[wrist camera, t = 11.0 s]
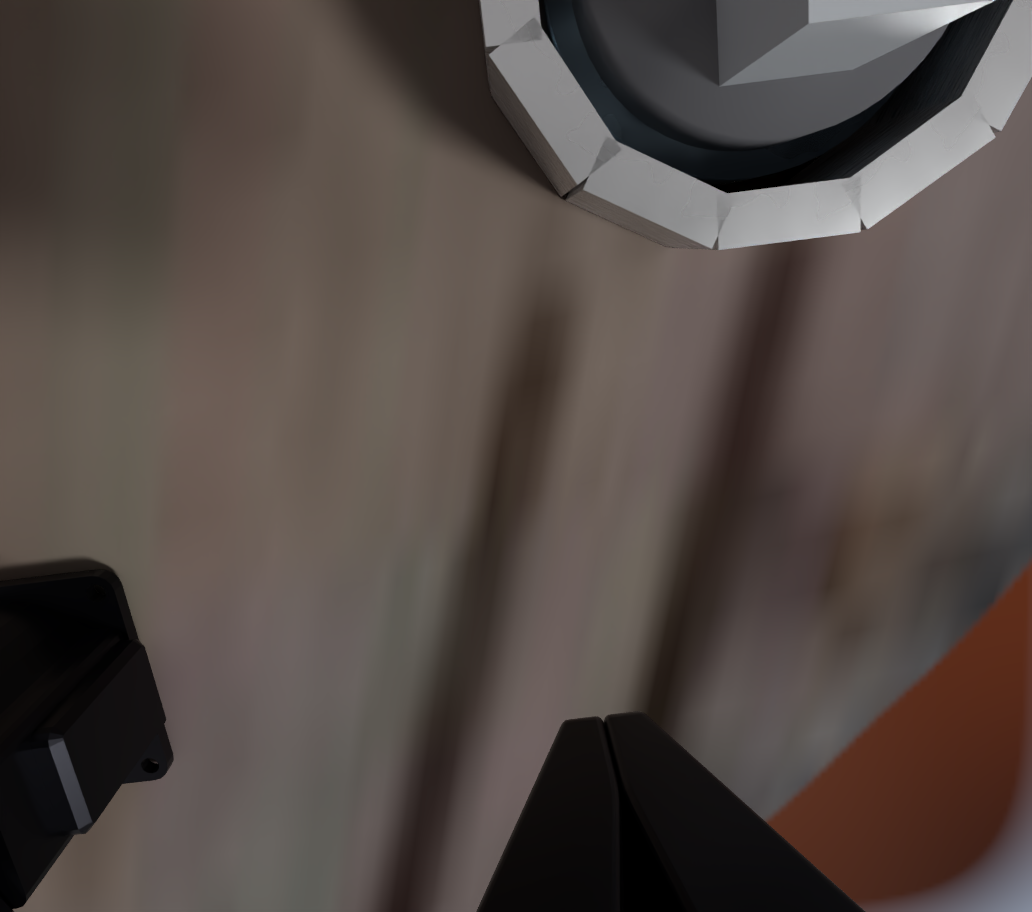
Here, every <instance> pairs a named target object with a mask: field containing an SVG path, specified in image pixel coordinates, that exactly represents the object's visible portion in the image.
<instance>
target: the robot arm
mask: <svg viewBox="0 0 1032 912" xmlns="http://www.w3.org/2000/svg"><path fill="white" fill-rule="evenodd" d="M94 584H95V585H99V586H101V587H103V589H104V590H105V592H106V595H103V594H100V593H98V592H97V591H96V589H95V588H94ZM165 721H166V717H165V713H164V710H163V707H162V703H161V700H160V697H159V693H158V690H157V686H156V683H155V680H154V676H153V673H152V670H151V666H150V663H149V660H148V656H147V653H146V650H145V647H144V645H143V644H142V643H141V642H140V641H139V639H138V636H137V632H136V629H135V626H134V622H133V619H132V616H131V613H130V609H129V606H128V603H127V599H126V596H125V593H124V589H123V586H122V583H121V581H120V580H119V578H118V577H117V576H116V575H115V574H114V573H112V572H110V571H107V570H91V571H82V572H74V573H66V574H57V575H49V576H40V577H32V578H24V579H15V580H7V581H0V912H14V911H13V910H12V909H16V908H19V907H22V906H23V905H24V904H25V903H26V901H27V900H28V899H29V897H30V896H31V895H32V893H33V892H34V890H35V889H36V888H37V886H38V885H39V883H40V882H41V881H42V879H43V878H44V876H45V875H46V874H47V872H48V871H49V869H50V868H51V867H52V865H53V864H54V863H55V861H56V860H57V858H58V857H59V856H60V854H61V853H62V851H63V850H64V849H65V847H66V846H67V844H68V843H69V842H70V840H71V839H72V837H73V836H74V835H77V834H86V833H87V832H88V831H89V830H90V829H91V827H92V826H93V825H94V823H95V822H96V821H97V819H98V818H99V816H100V815H101V813H102V812H103V811H104V809H105V808H106V806H107V805H108V803H109V802H110V801H111V799H112V798H113V796H114V795H115V793H116V792H117V791H118V789H119V788H120V786H121V785H122V784H125V783H134V782H142V781H151V780H157V779H160V778H162V777H163V776H164V775H165V774H166V773H167V771H168V769H169V768H170V766H171V765H172V762H173V760H174V759H173V752H172V749H171V745H170V742H169V739H168V735H167V732H166V729H165V725H164V723H165ZM148 758H152V759H154V760H156V761H157V762H158V764H157V763H153V762H151V761H150V760H149V759H148ZM476 912H865V911H864V910H863V909H862V908H861V907H859V906H858V905H857V904H856V903H855V902H854V901H853V900H852V899H851V898H850V897H848V896H847V895H846V894H845V893H844V892H843V891H842V890H841V889H839V888H838V887H837V886H836V885H835V884H834V883H833V882H832V881H831V880H829V879H828V878H827V877H826V876H825V875H824V874H823V873H822V872H821V871H820V870H818V869H817V868H816V867H815V866H814V865H813V864H812V863H811V862H810V861H808V860H807V859H806V858H805V857H804V856H803V855H802V854H801V853H799V852H798V851H797V850H796V849H795V848H794V847H793V846H792V845H791V844H790V843H788V842H787V841H786V840H785V839H784V838H783V837H782V836H781V835H779V834H778V833H777V832H776V831H775V830H774V829H773V828H772V827H771V826H769V825H768V824H767V823H766V822H765V821H764V820H763V819H762V818H761V817H759V816H758V815H757V814H756V813H755V812H754V811H753V810H752V809H751V808H749V807H748V806H747V805H746V804H745V803H744V802H743V801H742V800H741V799H739V798H738V797H737V796H736V795H735V794H734V793H733V792H732V791H731V790H729V789H728V788H727V787H726V786H725V785H724V784H723V783H722V782H721V781H719V780H718V779H717V778H716V777H715V776H714V775H713V774H712V773H711V772H709V771H708V770H707V769H706V768H705V767H704V766H703V765H702V764H701V763H699V762H698V761H697V760H696V759H695V758H694V757H693V756H692V755H691V754H689V753H688V752H687V751H686V750H685V749H684V748H683V747H682V746H681V745H679V744H678V743H677V742H676V741H675V740H674V739H673V738H672V737H671V736H669V735H668V734H667V733H666V732H665V731H664V730H663V729H662V728H661V727H659V726H658V725H657V724H656V723H655V722H654V721H653V720H652V719H651V718H649V717H648V716H647V715H646V714H645V713H643V712H640V711H635V712H627V713H619V714H611V715H608V716H606V717H605V719H604V723H603V721H602V719H601V718H599V717H596V716H595V717H586V718H578V719H570V720H566V721H564V722H563V723H562V725H561V727H560V729H559V731H558V733H557V736H556V738H555V740H554V742H553V744H552V747H551V749H550V751H549V753H548V755H547V758H546V760H545V762H544V764H543V766H542V769H541V771H540V773H539V775H538V777H537V780H536V782H535V784H534V786H533V788H532V791H531V793H530V795H529V797H528V799H527V802H526V804H525V806H524V808H523V810H522V813H521V815H520V817H519V819H518V821H517V823H516V826H515V828H514V830H513V832H512V834H511V837H510V839H509V841H508V843H507V845H506V848H505V850H504V852H503V854H502V856H501V859H500V861H499V863H498V865H497V867H496V870H495V872H494V874H493V876H492V878H491V881H490V883H489V885H488V887H487V889H486V892H485V894H484V896H483V898H482V900H481V903H480V905H479V907H478V909H477V911H476Z"/></svg>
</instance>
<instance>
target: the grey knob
mask: <svg viewBox="0 0 1032 912" xmlns="http://www.w3.org/2000/svg"><path fill="white" fill-rule="evenodd" d="M571 1H572V8H573V12H574V15H575V19H576V23H577V27H578V30H579V34H580V36H581V39H582V41H583V44H584V46H585V49H586V51H587V54H588V56H589V58H590V60H591V62H592V63H593V65H594V67H595V69H596V71H597V72H598V74H599V76H600V78H601V79H602V80H603V82H604V83H605V84H606V86H607V87H608V88H609V90H610V91H611V92H612V94H613V95H614V96H615V97H616V98H617V99H618V101H619V102H620V103H621V104H622V105H623V106H624V107H625V108H626V109H627V110H628V111H629V112H630V113H631V114H633V115H634V116H635V117H637V118H638V119H639V120H640V121H642V122H643V123H644V124H646V125H647V126H648V127H650V128H652V129H654V130H655V131H657V132H659V133H661V134H662V135H664V136H666V137H668V138H670V139H673V140H676V141H678V142H681V143H683V144H686V145H689V146H693V147H698V148H702V149H706V150H714V151H726V152H736V151H752V150H757V149H762V148H767V147H772V146H776V145H779V144H782V143H784V142H787V141H790V140H793V139H796V138H799V137H802V136H805V135H808V134H811V133H814V132H817V131H819V130H822V129H825V128H828V127H831V126H834V125H837V124H839V123H841V122H843V121H845V120H847V119H849V118H851V117H853V116H855V115H857V114H859V113H861V112H862V111H864V110H865V109H867V108H868V107H870V106H871V105H873V104H875V103H876V102H878V101H879V100H881V99H882V98H883V97H885V96H886V95H887V94H888V93H889V92H891V91H892V90H893V89H894V88H895V87H897V86H898V85H899V84H900V83H901V82H903V81H904V80H905V79H906V78H907V77H908V76H909V75H910V73H911V72H912V71H913V70H914V69H915V68H916V67H917V66H918V65H919V64H920V63H921V62H922V61H923V60H924V59H925V57H926V56H927V55H928V53H929V52H930V51H931V49H932V48H933V47H934V45H935V44H936V43H937V41H938V40H939V39H940V37H941V36H942V34H943V33H944V31H945V29H946V28H947V26H948V24H949V23H950V22H952V21H954V20H956V19H958V18H960V17H962V16H964V15H967V14H969V13H971V12H973V11H975V10H977V9H979V8H981V7H983V6H985V5H987V4H989V3H991V2H993V1H995V0H571Z"/></svg>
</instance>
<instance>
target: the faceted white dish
mask: <svg viewBox="0 0 1032 912" xmlns="http://www.w3.org/2000/svg"><path fill="white" fill-rule="evenodd" d="M479 7H480V15H481V24H482V32H483V40H484V49H485V57H486V65H487V74H488V82H489V91H491V93H492V98H493V100H494V101H495V102H496V104H497V105H498V107H499V108H500V110H501V111H502V113H503V114H504V115H505V117H506V118H507V120H508V121H509V123H510V124H511V126H512V127H513V128H514V130H515V131H516V133H517V134H518V136H519V137H520V139H521V140H522V141H523V143H524V144H525V146H526V147H527V149H528V150H529V152H530V153H531V155H532V156H533V157H534V159H535V160H536V162H537V163H538V165H539V166H540V168H541V169H542V170H543V172H544V173H545V175H546V176H547V178H548V179H549V181H550V182H551V183H552V185H553V186H554V188H555V189H556V191H557V192H558V194H559V195H560V196H561V197H562V196H563V195H564V194H566V193H567V192H568V191H569V193H568V195H567V198H566V200H565V201H567V202H569V203H571V204H574V205H576V206H578V207H580V208H582V209H585V210H587V211H589V212H591V213H593V214H595V215H598V216H600V217H602V218H604V219H606V220H609V221H611V222H613V223H615V224H617V225H620V226H622V227H624V228H626V229H628V230H631V231H633V232H635V233H637V234H639V235H641V236H644V237H646V238H648V239H650V240H652V241H655V242H657V243H659V244H661V245H663V246H666V247H672V248H688V249H710V250H722V249H730V248H738V247H746V246H754V245H762V244H770V243H778V242H786V241H794V240H802V239H810V238H818V237H826V236H834V235H842V234H850V233H858V232H860V230H864V229H869V228H870V227H871V226H873V225H874V224H876V223H877V222H878V221H880V220H881V219H882V218H884V217H885V216H887V215H888V214H889V213H891V212H892V211H894V210H895V209H896V208H898V207H899V206H901V205H902V204H903V203H905V202H906V201H908V200H909V199H910V198H912V197H913V196H914V195H916V194H917V193H919V192H920V191H921V190H923V189H924V188H926V187H927V186H928V185H930V184H931V183H933V182H934V181H935V180H937V179H938V178H940V177H941V176H942V175H944V174H945V173H947V172H948V171H949V170H951V169H952V168H953V167H955V166H956V165H958V164H959V163H960V162H962V161H963V160H965V159H966V158H967V157H969V156H970V155H972V154H973V153H974V152H976V151H977V150H979V149H980V148H981V147H983V146H984V145H985V144H987V143H988V142H990V141H991V140H992V139H994V138H995V135H994V132H999V131H1001V130H1002V128H1003V127H1004V125H1005V123H1006V121H1007V120H1008V118H1009V116H1010V114H1011V112H1012V111H1013V109H1014V107H1015V105H1016V104H1017V102H1018V100H1019V98H1020V96H1021V95H1022V93H1023V91H1024V89H1025V87H1026V86H1027V84H1028V82H1029V80H1030V79H1031V77H1032V0H995V1H993V2H991V3H989V4H987V5H985V6H983V7H981V8H979V9H977V10H975V11H973V12H971V13H969V14H967V15H964V16H962V17H960V18H958V19H956V20H954V21H952V22H950V23H949V24H948V26H947V28H946V29H945V31H944V33H943V34H942V36H941V37H940V39H939V40H938V41H937V43H936V44H935V45H934V47H933V48H932V49H931V51H930V52H929V53H928V55H927V56H926V57H925V59H924V60H923V61H922V62H921V63H920V64H919V65H918V66H917V67H916V68H915V69H914V70H913V71H912V72H911V73H910V75H909V76H908V77H907V78H906V79H905V80H904V81H903V82H901V83H900V84H899V85H898V86H897V87H895V88H894V89H893V90H892V91H891V92H889V93H888V94H887V95H886V96H885V97H883V98H882V99H881V100H879V101H878V102H876V103H875V104H873V105H871V106H870V107H868V108H867V109H865V110H864V111H862V112H861V113H859V114H857V115H855V116H853V117H851V118H849V119H847V120H845V121H843V122H841V123H839V124H837V125H834V126H831V127H828V128H825V129H822V130H819V131H817V132H814V133H811V134H808V135H805V136H802V137H799V138H796V139H793V140H790V141H787V142H784V143H782V144H779V145H776V146H772V147H767V148H762V149H757V150H752V151H736V152H726V151H714V150H706V149H702V148H698V147H693V146H689V145H686V144H683V143H681V142H678V141H676V140H673V139H670V138H668V137H666V136H664V135H662V134H661V133H659V132H657V131H655V130H654V129H652V128H650V127H648V126H647V125H646V124H644V123H643V122H642V121H640V120H639V119H638V118H637V117H635V116H634V115H633V114H631V113H630V112H629V111H628V110H627V109H626V108H625V107H624V106H623V105H622V104H621V103H620V102H619V101H618V99H617V98H616V97H615V96H614V95H613V94H612V92H611V91H610V90H609V88H608V87H607V86H606V84H605V83H604V82H603V80H602V79H601V78H600V76H599V74H598V72H597V71H596V69H595V67H594V65H593V63H592V62H591V60H590V58H589V56H588V54H587V51H586V49H585V46H584V44H583V41H582V39H581V36H580V34H579V30H578V27H577V23H576V19H575V15H574V12H573V8H572V1H571V0H539V2H538V0H479ZM827 151H828V152H827ZM824 153H825V154H824ZM822 154H824V155H822ZM820 155H822V156H821V157H820V158H818V159H817V160H816V161H814V162H813V163H811V164H810V165H809V166H807V167H806V168H805V169H803V170H802V171H801V172H799V173H798V174H797V175H795V176H794V177H793V178H791V179H790V180H789V181H787V182H786V183H785V184H783V185H782V186H781V187H774V188H766V189H758V190H750V191H742V192H734V193H725V192H723V191H721V190H719V189H717V188H715V187H712V186H710V185H720V184H729V183H734V182H739V181H744V180H749V179H753V178H757V177H761V176H765V175H769V174H773V173H778V172H780V171H783V170H786V169H789V168H792V167H795V166H798V165H801V164H803V163H805V162H807V161H809V160H812V159H814V158H816V157H818V156H820Z"/></svg>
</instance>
